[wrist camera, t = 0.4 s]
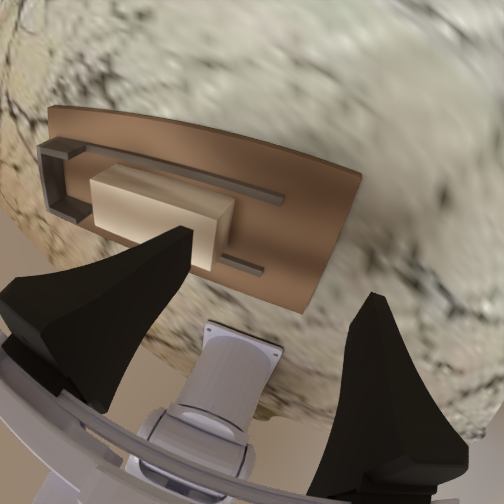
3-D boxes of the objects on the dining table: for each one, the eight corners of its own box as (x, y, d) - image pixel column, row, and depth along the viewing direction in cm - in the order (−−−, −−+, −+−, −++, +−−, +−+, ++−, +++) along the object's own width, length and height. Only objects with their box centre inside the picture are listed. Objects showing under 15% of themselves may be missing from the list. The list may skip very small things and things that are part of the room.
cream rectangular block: (227, 246, 22) (210, 271, 19) (118, 207, 23) (95, 225, 21) (235, 198, 19) (217, 220, 17) (116, 163, 20) (89, 179, 18)
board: (304, 307, 24) (296, 338, 21) (65, 213, 27) (44, 229, 25) (361, 173, 16) (363, 195, 14) (54, 105, 20) (26, 115, 17)
